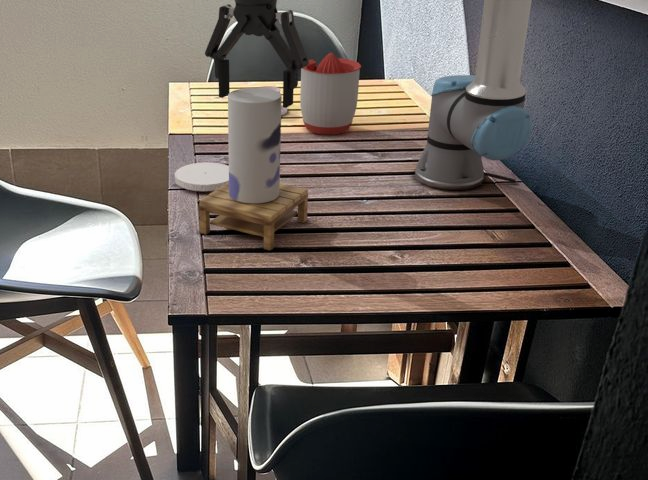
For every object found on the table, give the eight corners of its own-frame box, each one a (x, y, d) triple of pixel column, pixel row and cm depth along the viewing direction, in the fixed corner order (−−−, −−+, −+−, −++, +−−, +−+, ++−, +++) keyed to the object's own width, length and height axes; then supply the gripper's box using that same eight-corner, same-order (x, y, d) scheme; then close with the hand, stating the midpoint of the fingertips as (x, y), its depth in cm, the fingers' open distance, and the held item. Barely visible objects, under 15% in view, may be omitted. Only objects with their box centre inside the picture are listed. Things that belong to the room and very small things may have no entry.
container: (275, 206, 156) (277, 103, 146) (224, 202, 158) (223, 100, 147) (282, 186, 164) (285, 88, 154) (234, 183, 166) (233, 85, 156)
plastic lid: (240, 174, 190) (240, 163, 188) (231, 197, 178) (231, 186, 177) (182, 171, 192) (181, 161, 190) (169, 193, 180) (168, 183, 179)
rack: (307, 220, 167) (308, 188, 163) (270, 250, 155) (270, 217, 151) (239, 205, 174) (239, 174, 170) (199, 233, 162) (198, 200, 159)
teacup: (260, 103, 239) (261, 82, 235) (295, 110, 233) (296, 88, 229) (237, 113, 230) (237, 91, 227) (272, 120, 224) (273, 98, 221)
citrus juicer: (344, 116, 227) (349, 43, 217) (364, 136, 212) (370, 58, 202) (290, 120, 225) (292, 45, 214) (306, 140, 210) (309, 61, 200)
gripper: (330, -20, 138) (324, 104, 148) (206, -29, 149) (209, 87, 160) (311, -13, 132) (306, 115, 143) (183, -23, 143) (188, 96, 154)
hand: (255, 100), depth 151 cm, fingers open, 13 cm apart
